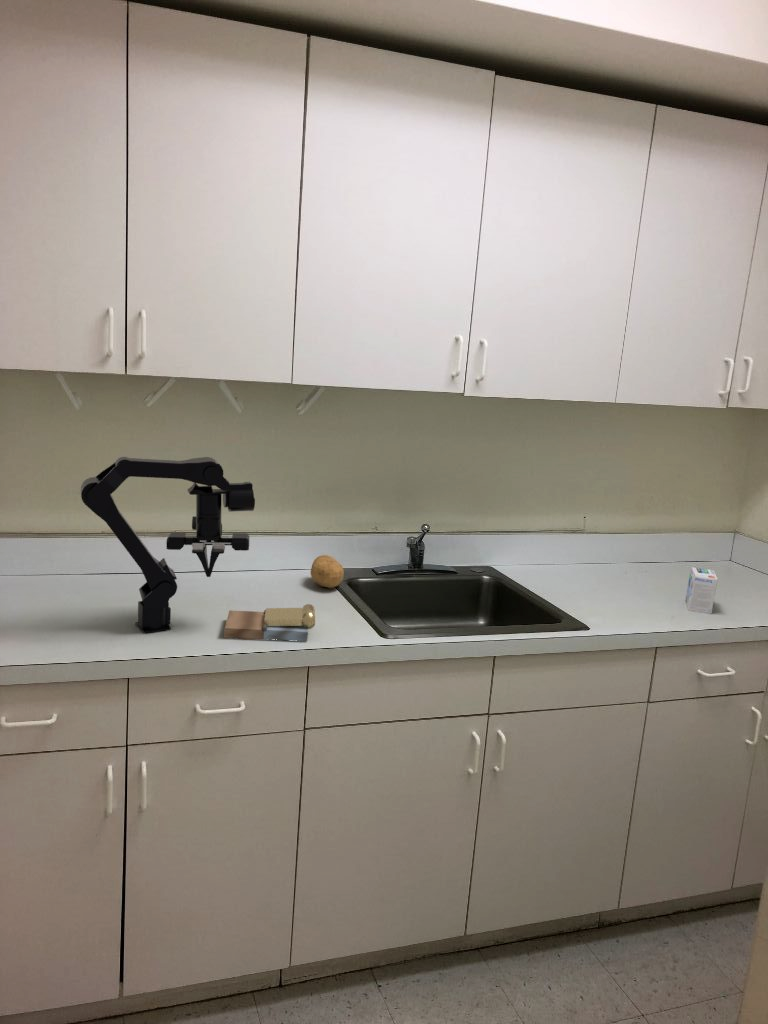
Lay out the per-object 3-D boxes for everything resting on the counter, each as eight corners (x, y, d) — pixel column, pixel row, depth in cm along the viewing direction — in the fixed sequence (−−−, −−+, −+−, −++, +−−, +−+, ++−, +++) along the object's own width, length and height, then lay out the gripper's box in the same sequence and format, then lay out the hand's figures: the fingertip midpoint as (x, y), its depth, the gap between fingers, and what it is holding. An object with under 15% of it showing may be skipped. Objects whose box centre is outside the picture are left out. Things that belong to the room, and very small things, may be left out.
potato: (313, 594, 223) (315, 566, 221) (305, 578, 236) (307, 552, 234) (348, 594, 225) (350, 566, 224) (338, 578, 239) (340, 552, 237)
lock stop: (264, 616, 188) (315, 616, 189) (266, 604, 196) (314, 604, 197) (264, 629, 189) (315, 628, 190) (266, 617, 197) (314, 616, 198)
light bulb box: (684, 600, 247) (690, 566, 245) (707, 603, 245) (713, 569, 243) (688, 610, 237) (694, 575, 235) (712, 614, 235) (718, 579, 233)
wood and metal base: (224, 638, 186) (224, 625, 186) (228, 620, 198) (229, 607, 197) (306, 641, 189) (307, 628, 188) (306, 623, 200) (307, 611, 199)
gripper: (250, 505, 197) (249, 566, 200) (171, 503, 194) (172, 566, 198) (249, 516, 186) (248, 580, 190) (165, 514, 184) (166, 580, 187)
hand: (208, 576), depth 191 cm, fingers closed
